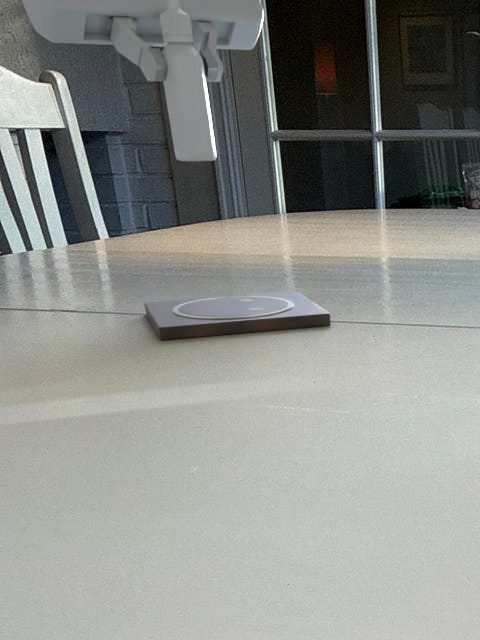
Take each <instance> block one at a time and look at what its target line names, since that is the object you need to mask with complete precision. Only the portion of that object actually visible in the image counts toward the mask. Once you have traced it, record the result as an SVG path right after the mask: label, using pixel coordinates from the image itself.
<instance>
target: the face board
mask: <svg viewBox="0 0 480 640" xmlns="http://www.w3.org/2000/svg"><path fill="white" fill-rule="evenodd" d="M143 305H144V311H145V314H146V316H147V318H148V319H149V321H150V323H151V325H152V327H153V328H154V330H155V332H156V334H157V336H158V338H159V339H160V341H168V340H169V341H170V340H178V339H190V338H201V337H202V338H203V337H212V336H226V335H236V334H249V333H258V332H259V333H260V332H271V331H281V330H291V329H292V330H293V329H304V328H314V327H315V328H317V327H327V326H331V324H332V323H331V314H330V312H329V311H327V310H325V309H324V308H322V307H321V306H320V305H318V304H316V303H315V302H314V301H312V300H311V299H309V298H307V297H306V296H305V295H303V294H301V293H300V292H298V291H296V290H295V291H283V292H269V293H256V294H241V295H240V294H239V295H229V296H227V295H226V296H218V297H217V296H216V297H215V296H214V297H202V298H188V299H176V300H175V299H173V300H162V301H147V302H144V303H143Z"/></svg>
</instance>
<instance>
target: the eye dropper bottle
mask: <svg viewBox="0 0 480 640" xmlns="http://www.w3.org/2000/svg"><path fill="white" fill-rule="evenodd" d="M160 22H161V28H162V35H163V41H164V43H168V45H166V46H165V47H163V49H162V50H161V52H162V54H163V58H165V59H166V61H167V65H168V71H167V74H166V80H165V81H162V82H163V88H164V95H165V101H166V107H167V108H166V109H167V114H168V120H169V126H170V132H171V138H172V144H173V152H174V157H175V159H176V160H177V161H180V162H212V161H215V160H217V157H218V156H217V154H218V153H217V148H216V139H215V134H214V127H213V119H212V112H211V107H210V106H211V105H210V97H209V92H208V84H207V82H206V77H205V70H204V64H203V60H202V57H201V55H200V54H199V52H198V51H197V50H196V49H195V48H194V46H192V45H190V43H194V41H193V34H192V27H191V20H190V16H189V15H188V14H187V13H185V12H183V11H182V10H181V8H180V6H179V3H178V0H167V8H166V10H165V12H163V13H162V14H160Z"/></svg>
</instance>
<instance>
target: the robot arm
mask: <svg viewBox="0 0 480 640" xmlns="http://www.w3.org/2000/svg"><path fill="white" fill-rule="evenodd" d="M21 2H22V4H23V7H24V10H25V12H26V14H27V16H28V18H29V21H30V23H31V25H32V27H33V29H34V31H35V32H36V33H38V35H40V36H42V37H43V38H45V39H46V40H47V41H49V42H51V43H53V44H79V45H81V44H82V45H104V46H114V48H115V51H117V52H118V53H119V54H120V55H122V56H123V57H124V58H126V59H127V60H128V61H130V62H131V63H132V64H134V65H135V66H137V67H139V69H140V70H141V72H142V75H143V76H144V77H145V79H146V81H147V82H163V81H165V80H166V74H167V71H168V65H167V61H166V59H165V58H163V54H162V50H161V49H160V48H164V47H165V46H166V45H168V43H164V41H163V35H162V28H161V22H160V14H162V13H163V12H165V10H166V8H167V0H21ZM178 3H179V6H180V8H181V10H182V11H183V12H185V13H187V14H188V15H189V16H190V20H191V27H192V34H193V41H194V43H190V45H192V46H194V48H195V49H196V50H197V51H198V52H199V54H200V55H201V57H202V60H203V64H204V70H205V77H206V83H207V82H210V83H220V82H221V81H222V77H223V74H224V64H223V61H222V60H221V58H220V57H219V55H218V53H217V50H238V51H239V50H240V51H252V50H253V49H254V48H255V46H256V44H257V42H258V39H259V38H260V37H259V36H260V34H261V31H262V28H263V23H264V17H265V14H264V13H265V12H264V8H263V5H262V4H261V1H260V0H178Z"/></svg>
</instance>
